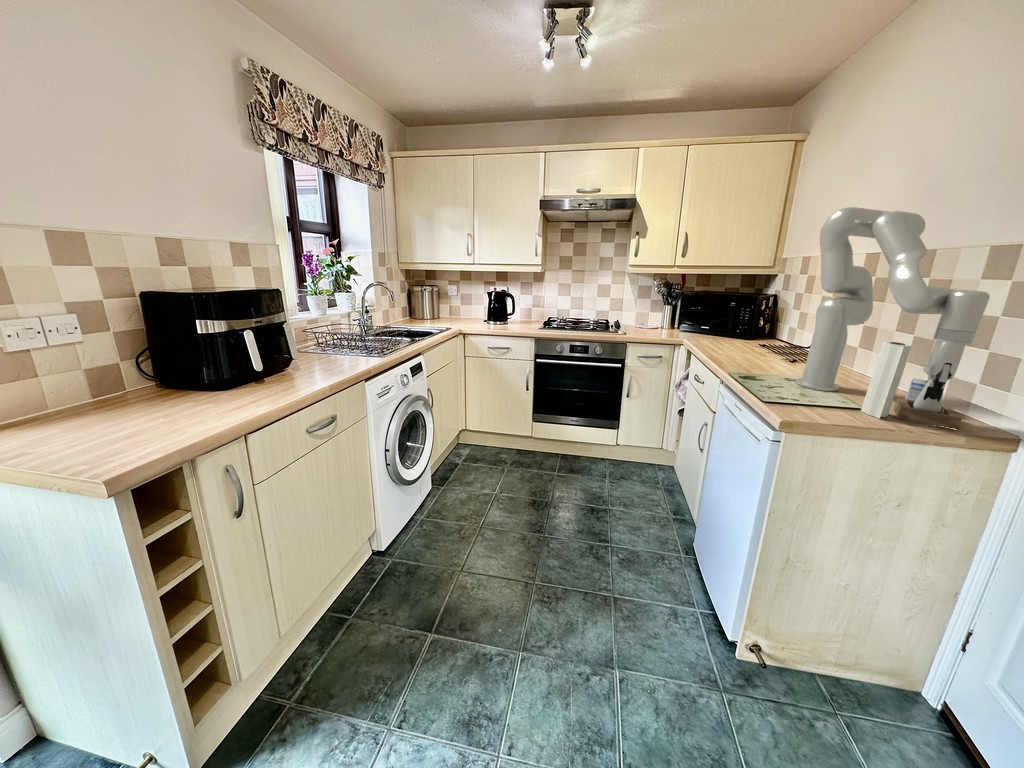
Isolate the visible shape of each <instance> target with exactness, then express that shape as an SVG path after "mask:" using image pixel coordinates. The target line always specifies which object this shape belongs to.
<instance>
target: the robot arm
mask: <svg viewBox="0 0 1024 768" xmlns="http://www.w3.org/2000/svg"><path fill="white" fill-rule="evenodd" d="M925 230H926V221H925V219H924V217H923V216H921V215H920V214H918V213H915V212H909V211H903V210H902V211H899V210H896V211H895V210H894V211H888V210H881V209H869V208H864V207H857V206H855V207H853V206H851V207H844V208H841V209H838V210H836V211H835V212H833V213H831V215H830V216H829V217H827V219H826V220H825V221H824V223H823V224H822V226H821V229H820V232H819V247H820V285H821V288H822V290H823V291H824V292H826V293H828V294H834V295H836V294H837V295H840V296H837V297H836V296H835V297H834V296H833V297H831V298H827V299H825V300H824V301H822V302H821V303H820V304H819V305H818V307H817V309H816V312H815V323H814V324H815V326H814V331H813V335H812V340H811V344H810V346H809V347H810V348H809V351H808V354H807V357H806V361H805V366H804V369H803V372H802V376H801V377H799V378H797V379H795V383H796V384H797V385H799V386H801V387H803V388H807V389H812V390H817V391H824V392H836V391H838V390H839V387H840V386H838V385H837V384H835V381H836V379H837V375H838V373H839V372H838V371H839V368H840V365H841V362H842V359H843V355H844V352H845V348H846V345H847V341H848V326H860V325H863V324H865V322H867V321H868V320H870V317H871V316H872V313H873V309H874V308H873V307H874V301H873V300H874V294H873V293H874V292H873V291H874V290H873V289H874V287H873V285H874V284H873V283H874V282H873V277H872V276H873V275H871V272H870V271H869V270H868V269H867V268H865V267H864V266H860V265H854V260H853V259H854V256H853V255H854V254H853V253H854V251H853V248H852V247H853V246H852V244H851V241H850V239H849V237H850V236H851V237H862V238H870V239H875V241H876V243H877V244H878V246H879V248H880V250H881V251H882V254H883V256H884V258H885V259H886V261H887V264H888V265H889V269H888V272H887V273H888V279H887V280H888V287H889V290H890V292H891V294H892V296H893V298H894V300H895V302H896V303H897V305H898V307H900V308H901V309H902V310H903V311H904V312H905V313H908V314H913V315H940V318H939V321H938V324H937V327H936V328H935V332H934V335H933V338H932V340H934V341H935V342H934V344H933V346H932V348H931V351H930V352H929V356H928V357H927V360H926V362H925V364H924V368H923V372H924V373H925V374H926V375H927V380H926V381H927V382H928V380H929V379H930V378H928V376H932V375H933V378H932V381H931V383H930V387H927V390H926V393H925V395H924V398H923V399H924V400H926V399H927V398H928V397H929V398H930V399H933V400H935V399H937V403H938V402H939V401H940V398H941V396H942V393H943V394H944V390H945V387H946V384H947V382H948V381H947V379H949V380H951V379H954V377H955V375H956V373H957V371H958V368H959V365H960V363H961V360H962V358H963V357H962V356H963V354H964V350H965V348H966V346H967V345H973V341H974V339H975V336H976V334H977V332H978V329H979V325H980V324H981V322H982V319H983V316H984V313H985V311H986V308H987V305H988V304H989V301H990V293H988V292H987V291H982V290H969V289H952V288H946V287H940V286H938V287H937V286H928V285H927V283H926V282H925V280H924V279H923V277H922V275H921V272H920V266H919V265H920V262H921V261H922V259H924V258H925V257H926V256H927V254H928V249H927V247H926V245H925V243H924V242H923V240H922V238H921V237H920V236H922V234H923V233H924V231H925ZM949 374H950V375H949ZM936 375H940V377H936ZM936 379H939V380H936ZM925 385H926V384H925Z"/></svg>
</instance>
